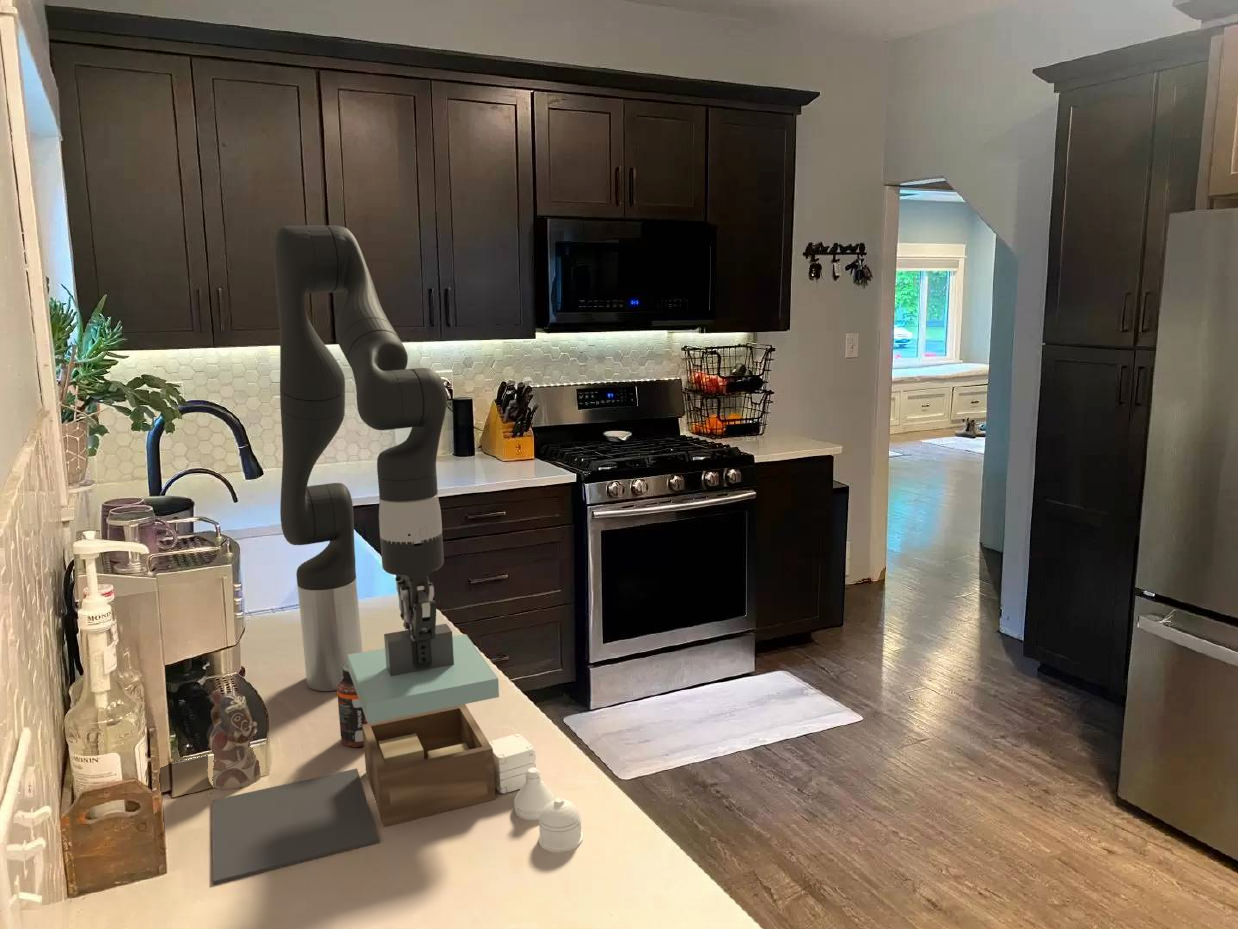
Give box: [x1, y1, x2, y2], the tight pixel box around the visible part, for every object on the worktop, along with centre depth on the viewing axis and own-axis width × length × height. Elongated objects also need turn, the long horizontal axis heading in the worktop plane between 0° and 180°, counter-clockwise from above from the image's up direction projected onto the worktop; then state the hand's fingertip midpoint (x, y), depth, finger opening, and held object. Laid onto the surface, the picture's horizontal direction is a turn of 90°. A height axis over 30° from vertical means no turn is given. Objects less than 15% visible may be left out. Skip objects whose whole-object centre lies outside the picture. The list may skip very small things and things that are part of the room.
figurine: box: [208, 689, 262, 791], centre depth 124 cm, size 7×7×12 cm
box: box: [362, 704, 496, 828], centre depth 121 cm, size 14×14×7 cm
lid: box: [348, 623, 500, 724], centre depth 118 cm, size 16×16×7 cm
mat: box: [212, 768, 380, 885], centre depth 114 cm, size 18×18×1 cm
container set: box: [488, 733, 584, 853], centre depth 115 cm, size 20×5×6 cm, turn 29°
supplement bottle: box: [336, 664, 368, 748], centre depth 133 cm, size 6×6×11 cm
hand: (420, 661), depth 118 cm, fingers closed on lid, 3 cm apart
